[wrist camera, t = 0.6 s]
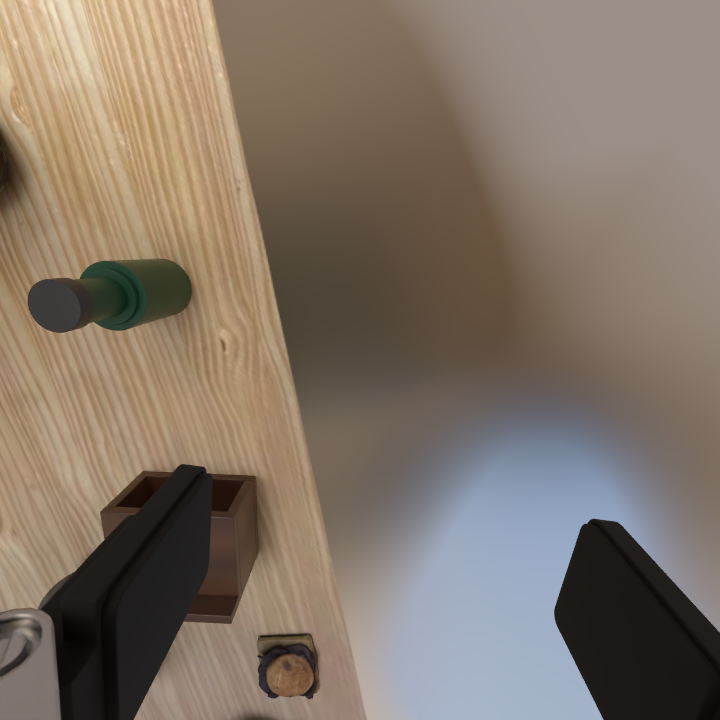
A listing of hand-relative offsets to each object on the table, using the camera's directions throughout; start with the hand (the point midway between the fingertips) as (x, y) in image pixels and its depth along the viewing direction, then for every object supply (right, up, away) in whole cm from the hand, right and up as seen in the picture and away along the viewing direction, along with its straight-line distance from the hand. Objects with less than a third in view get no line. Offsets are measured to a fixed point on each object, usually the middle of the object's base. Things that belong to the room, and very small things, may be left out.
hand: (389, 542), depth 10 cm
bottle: (-22, +12, +33) cm, 42 cm away
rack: (-21, -15, +41) cm, 48 cm away
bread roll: (-6, -37, +44) cm, 58 cm away
